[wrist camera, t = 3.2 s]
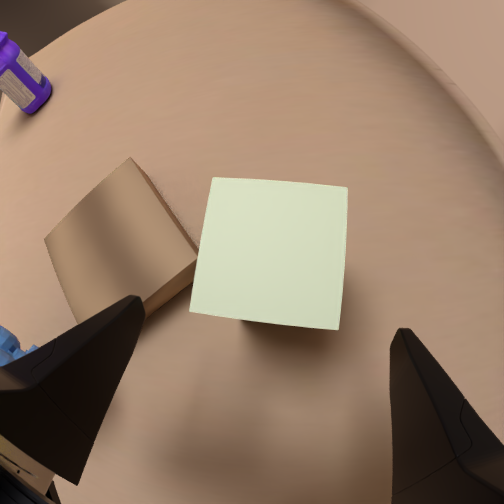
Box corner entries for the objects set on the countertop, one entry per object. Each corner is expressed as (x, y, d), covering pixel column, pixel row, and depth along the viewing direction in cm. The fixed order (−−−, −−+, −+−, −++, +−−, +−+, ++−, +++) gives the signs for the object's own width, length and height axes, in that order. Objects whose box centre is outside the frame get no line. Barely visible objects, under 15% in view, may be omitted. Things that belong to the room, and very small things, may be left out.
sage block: (314, 326, 19) (338, 330, 9) (239, 318, 19) (189, 311, 10) (322, 252, 20) (347, 187, 10) (249, 245, 21) (212, 177, 11)
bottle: (25, 102, 31) (-37, 42, 14) (50, 77, 31) (-7, 11, 15) (28, 122, 29) (-45, 55, 12) (56, 94, 29) (-12, 19, 13)
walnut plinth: (112, 345, 20) (89, 346, 17) (65, 248, 23) (44, 239, 20) (211, 267, 21) (198, 257, 18) (146, 174, 23) (130, 156, 20)
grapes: (92, 307, 21) (-31, 284, 10) (118, 388, 19) (-4, 416, 8) (18, 345, 21) (-78, 337, 10) (37, 409, 19) (-58, 424, 8)
